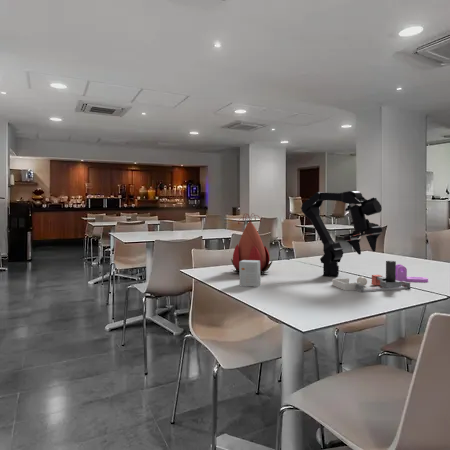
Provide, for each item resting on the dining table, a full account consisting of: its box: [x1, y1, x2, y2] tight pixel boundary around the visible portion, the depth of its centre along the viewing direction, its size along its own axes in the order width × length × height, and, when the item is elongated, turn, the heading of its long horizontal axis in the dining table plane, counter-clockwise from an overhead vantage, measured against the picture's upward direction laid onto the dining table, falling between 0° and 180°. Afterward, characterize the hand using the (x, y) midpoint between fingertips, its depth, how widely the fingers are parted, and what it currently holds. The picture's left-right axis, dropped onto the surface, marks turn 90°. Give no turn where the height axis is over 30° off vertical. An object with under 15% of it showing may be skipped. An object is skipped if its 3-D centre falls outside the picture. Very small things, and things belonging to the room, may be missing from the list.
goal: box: [332, 277, 361, 291], centre depth 155 cm, size 7×10×2 cm
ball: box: [356, 276, 368, 287], centre depth 156 cm, size 4×4×4 cm
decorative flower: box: [230, 213, 274, 274], centre depth 188 cm, size 22×23×30 cm
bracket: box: [396, 263, 429, 283], centre depth 166 cm, size 13×6×7 cm, turn 78°
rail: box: [355, 281, 411, 293], centre depth 150 cm, size 22×4×2 cm, turn 102°
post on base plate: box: [371, 260, 401, 288], centre depth 154 cm, size 7×11×11 cm, turn 12°
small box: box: [238, 260, 262, 288], centre depth 160 cm, size 8×6×10 cm
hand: (366, 253), depth 164 cm, fingers open, 9 cm apart
